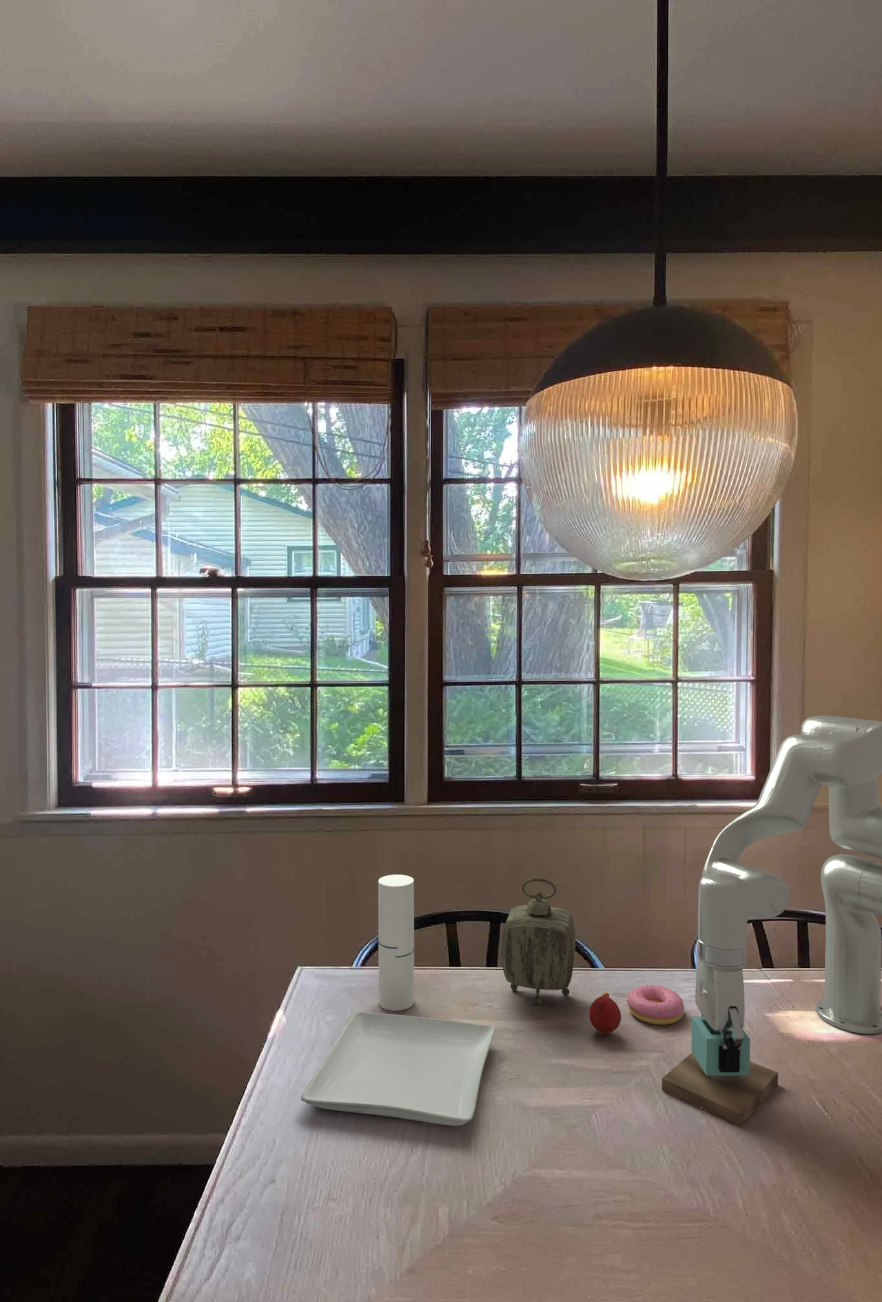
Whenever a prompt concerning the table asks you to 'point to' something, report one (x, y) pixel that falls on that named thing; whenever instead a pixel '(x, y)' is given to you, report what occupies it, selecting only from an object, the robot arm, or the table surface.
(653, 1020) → the doughnut
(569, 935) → the tabletop clock
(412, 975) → the cylindrical container
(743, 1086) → the post board
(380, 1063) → the square plate
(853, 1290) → the table surface
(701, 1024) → the collar
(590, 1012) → the onion
